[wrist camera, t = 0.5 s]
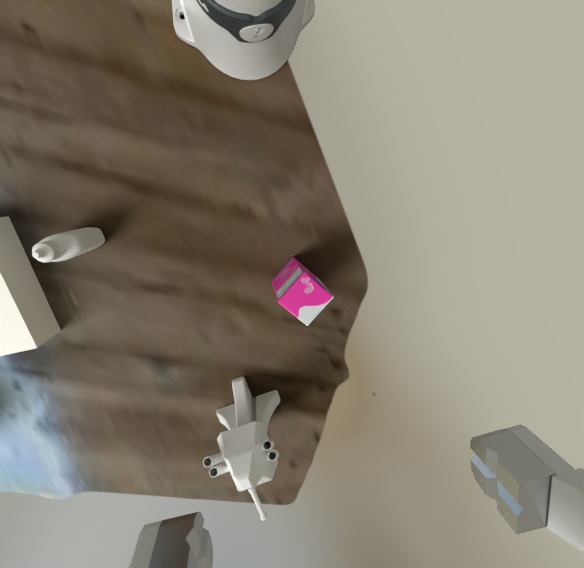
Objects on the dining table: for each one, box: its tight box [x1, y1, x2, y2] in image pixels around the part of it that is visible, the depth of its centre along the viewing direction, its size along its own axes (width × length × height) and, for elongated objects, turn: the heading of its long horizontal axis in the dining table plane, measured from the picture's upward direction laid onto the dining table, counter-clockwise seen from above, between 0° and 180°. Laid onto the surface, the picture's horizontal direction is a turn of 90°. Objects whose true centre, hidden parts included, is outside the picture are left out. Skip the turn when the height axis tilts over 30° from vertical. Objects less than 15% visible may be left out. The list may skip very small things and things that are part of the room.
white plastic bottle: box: [32, 227, 105, 262], centre depth 42 cm, size 4×6×12 cm
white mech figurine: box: [203, 376, 280, 520], centre depth 52 cm, size 12×13×18 cm
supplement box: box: [272, 257, 334, 326], centre depth 48 cm, size 6×6×12 cm
